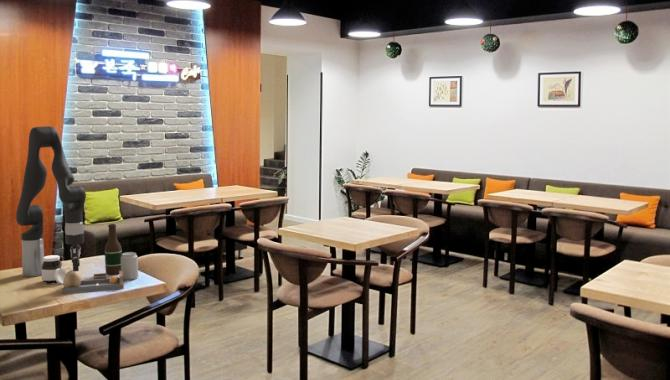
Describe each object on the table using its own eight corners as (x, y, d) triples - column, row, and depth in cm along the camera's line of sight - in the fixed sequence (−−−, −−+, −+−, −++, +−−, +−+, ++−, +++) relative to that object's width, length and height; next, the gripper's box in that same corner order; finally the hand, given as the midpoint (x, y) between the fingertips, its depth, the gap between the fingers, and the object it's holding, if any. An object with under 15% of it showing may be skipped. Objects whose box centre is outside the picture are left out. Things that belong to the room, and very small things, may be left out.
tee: (93, 283, 283) (92, 277, 282) (93, 280, 288) (93, 274, 288) (107, 282, 285) (106, 276, 284) (107, 279, 290) (107, 273, 290)
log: (63, 291, 269) (62, 275, 268) (65, 286, 277) (64, 270, 276) (81, 289, 271) (80, 274, 270) (82, 284, 279) (81, 269, 278)
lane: (62, 293, 268) (61, 288, 267) (64, 286, 278) (63, 282, 278) (119, 288, 275) (119, 283, 275) (119, 282, 286) (119, 277, 285)
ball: (107, 281, 277) (114, 287, 278) (113, 275, 277) (120, 280, 278) (107, 279, 280) (114, 285, 282) (113, 272, 281) (120, 278, 282)
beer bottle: (126, 272, 302) (124, 223, 299) (112, 276, 296) (110, 226, 293) (115, 270, 307) (113, 222, 304) (102, 273, 300) (99, 224, 297)
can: (133, 280, 288) (132, 255, 286) (118, 280, 289) (117, 254, 288) (141, 276, 295) (140, 251, 294) (126, 275, 297) (125, 251, 295)
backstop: (119, 288, 275) (119, 276, 275) (119, 282, 286) (119, 270, 285) (123, 288, 276) (123, 276, 275) (123, 281, 286) (122, 269, 285)
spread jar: (48, 279, 291) (46, 254, 289) (73, 278, 292) (71, 254, 291) (38, 286, 279) (37, 260, 278) (64, 285, 280) (63, 260, 279)
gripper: (66, 229, 277) (68, 265, 279) (63, 236, 264) (66, 273, 266) (84, 228, 279) (86, 264, 282) (83, 234, 266) (84, 272, 268)
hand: (76, 268), depth 274 cm, fingers open, 8 cm apart
